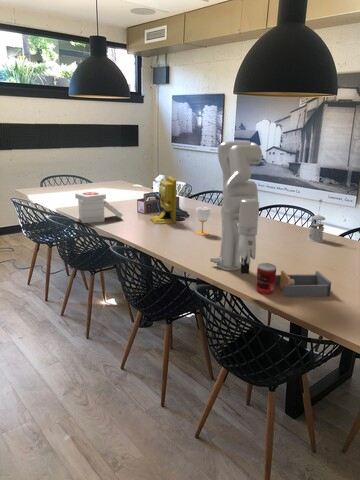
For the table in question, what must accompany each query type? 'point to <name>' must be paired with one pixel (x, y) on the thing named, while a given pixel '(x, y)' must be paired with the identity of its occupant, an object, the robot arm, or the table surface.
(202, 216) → the cup
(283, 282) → the pusher
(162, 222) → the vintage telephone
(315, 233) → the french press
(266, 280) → the canned food
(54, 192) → the table surface
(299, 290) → the frame
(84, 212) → the pizza boxes
